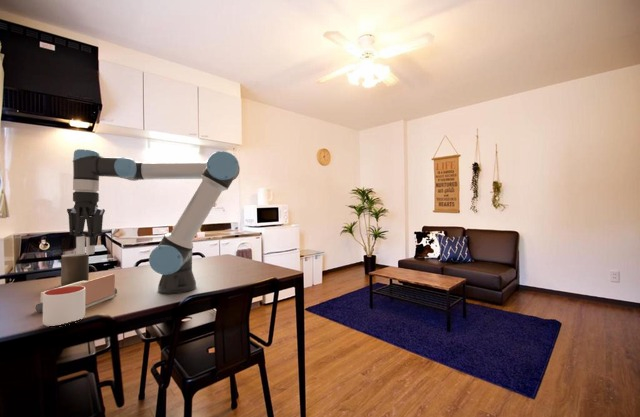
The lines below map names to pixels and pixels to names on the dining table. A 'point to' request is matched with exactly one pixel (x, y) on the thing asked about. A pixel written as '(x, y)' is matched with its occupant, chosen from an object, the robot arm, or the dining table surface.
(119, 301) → the dining table surface
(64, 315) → the cup
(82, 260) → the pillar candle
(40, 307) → the truck bed
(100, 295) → the panel
